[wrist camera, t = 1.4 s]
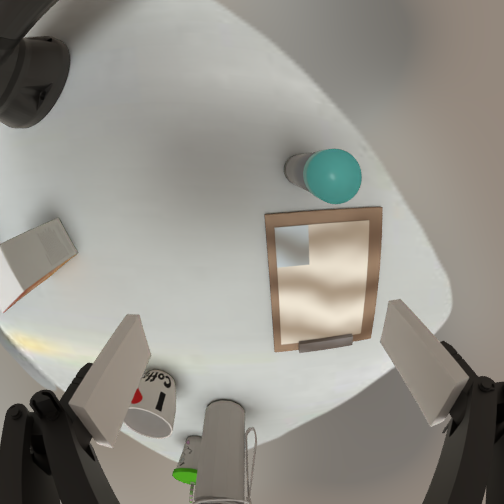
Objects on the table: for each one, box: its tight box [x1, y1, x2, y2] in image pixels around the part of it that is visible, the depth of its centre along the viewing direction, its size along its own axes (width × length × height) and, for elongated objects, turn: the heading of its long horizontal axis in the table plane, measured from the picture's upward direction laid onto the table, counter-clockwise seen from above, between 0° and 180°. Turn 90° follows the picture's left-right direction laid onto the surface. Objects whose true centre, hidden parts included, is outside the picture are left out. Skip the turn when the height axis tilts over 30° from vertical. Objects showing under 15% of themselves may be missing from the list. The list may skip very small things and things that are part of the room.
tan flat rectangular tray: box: [265, 207, 382, 353], centre depth 35 cm, size 20×15×2 cm
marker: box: [284, 149, 362, 204], centre depth 24 cm, size 4×4×14 cm
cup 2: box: [172, 436, 202, 503], centre depth 40 cm, size 8×8×15 cm
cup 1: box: [123, 370, 176, 438], centre depth 36 cm, size 8×8×10 cm
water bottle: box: [193, 400, 257, 504], centre depth 31 cm, size 9×8×25 cm
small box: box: [0, 218, 78, 313], centre depth 27 cm, size 8×6×13 cm
